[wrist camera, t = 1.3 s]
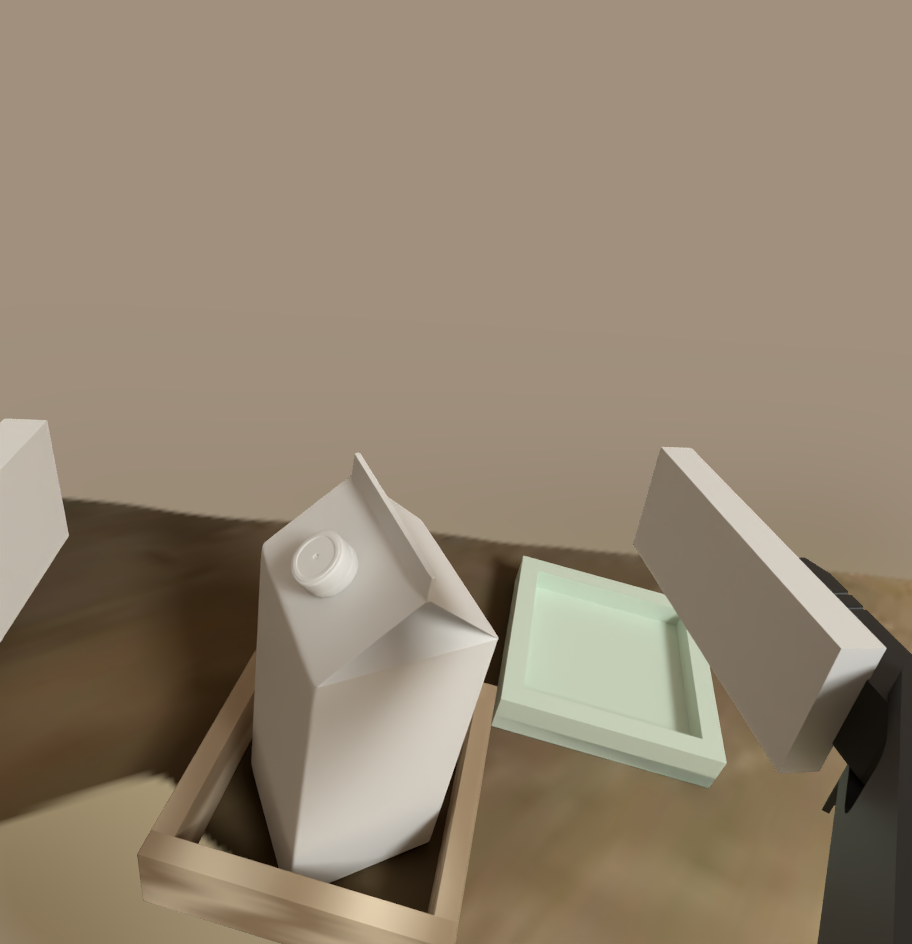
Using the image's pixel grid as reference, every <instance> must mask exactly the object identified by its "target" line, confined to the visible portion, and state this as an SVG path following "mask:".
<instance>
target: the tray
mask: <svg viewBox="0 0 912 944" xmlns="http://www.w3.org/2000/svg"><path fill="white" fill-rule="evenodd" d="M491 726H494V727H498V728H501V729H505V730H508V731H512V732H515V733H518V734H522V735H525V736H529V737H532V738H536V739H539V740H543V741H546V742H550V743H553V744H557V745H560V746H564V747H567V748H570V749H574V750H577V751H581V752H584V753H588V754H591V755H595V756H598V757H602V758H605V759H609V760H612V761H616V762H619V763H622V764H626V765H629V766H633V767H636V768H640V769H643V770H647V771H650V772H654V773H657V774H661V775H664V776H668V777H671V778H675V779H678V780H681V781H685V782H688V783H692V784H695V785H699V786H702V787H706V788H709V787H710V786H711V784H712V783H713V782H714V780H715V779H716V777H717V776H718V775H719V773H720V772H721V770H722V769H723V768H724V766H725V765H726V764H727V763H726V757H725V752H724V746H723V740H722V735H721V729H720V723H719V718H718V712H717V706H716V701H715V695H714V689H713V684H712V678H711V672H710V667H709V663H708V662H707V660H706V659H705V657H704V655H703V654H702V652H701V651H700V649H699V648H698V646H697V644H696V643H695V641H694V640H693V638H692V637H691V635H690V633H689V632H688V630H687V629H686V627H685V626H684V624H683V622H682V621H681V619H680V618H679V616H678V614H677V613H676V611H675V610H674V608H673V607H672V605H671V603H670V602H669V600H668V599H667V597H666V596H665V595H664V594H660V593H657V592H653V591H650V590H646V589H642V588H639V587H635V586H631V585H628V584H624V583H621V582H617V581H613V580H610V579H606V578H602V577H599V576H595V575H592V574H588V573H584V572H581V571H577V570H573V569H570V568H566V567H563V566H559V565H555V564H552V563H548V562H544V561H541V560H537V559H534V558H530V557H526V556H523V558H522V561H521V564H520V567H519V570H518V573H517V576H516V579H515V583H514V589H513V596H512V602H511V608H510V614H509V620H508V626H507V632H506V638H505V644H504V650H503V657H502V663H501V669H500V675H499V681H498V687H497V693H496V699H495V705H494V711H493V718H492V724H491Z"/></svg>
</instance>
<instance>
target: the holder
mask: <svg viewBox="0 0 912 944" xmlns="http://www.w3.org/2000/svg"><path fill="white" fill-rule="evenodd" d="M256 650H257V648H256ZM256 650H255V652H254V654H253V655H252V657H251V659H250V660H249V662H248V664H247V666H246V667H245V669H244V671H243V673H242V674H241V676H240V678H239V679H238V681H237V683H236V685H235V686H234V688H233V690H232V691H231V693H230V695H229V697H228V698H227V700H226V702H225V704H224V705H223V707H222V709H221V710H220V712H219V714H218V716H217V717H216V719H215V721H214V723H213V724H212V726H211V728H210V729H209V731H208V733H207V735H206V736H205V738H204V740H203V742H202V743H201V745H200V747H199V748H198V750H197V752H196V754H195V755H194V757H193V759H192V760H191V762H190V764H189V766H188V767H187V769H186V771H185V773H184V774H183V776H182V778H181V779H180V781H179V783H178V785H177V786H176V788H175V790H174V792H173V793H172V795H171V797H170V798H169V800H168V802H167V804H166V806H165V807H164V809H163V811H162V812H161V814H160V816H159V817H158V819H157V821H156V823H155V824H154V826H153V828H152V830H151V831H150V833H149V835H148V837H147V838H146V840H145V842H144V843H143V845H142V847H141V848H140V850H139V852H138V854H137V857H138V863H139V872H140V879H141V887H142V894H143V901H145V902H148V903H151V904H155V905H158V906H161V907H164V908H168V909H171V910H174V911H178V912H181V913H184V914H187V915H190V916H194V917H197V918H200V919H203V920H207V921H210V922H213V923H216V924H220V925H223V926H226V927H229V928H233V929H236V930H239V931H242V932H245V933H249V934H252V935H255V936H258V937H262V938H265V939H268V940H271V941H275V942H278V943H281V944H455V942H456V936H457V929H458V923H459V917H460V911H461V905H462V899H463V893H464V887H465V881H466V875H467V869H468V863H469V856H470V850H471V844H472V838H473V832H474V826H475V820H476V814H477V808H478V802H479V796H480V789H481V783H482V777H483V771H484V765H485V759H486V753H487V747H488V741H489V735H490V729H491V722H492V716H493V710H494V704H495V698H496V692H497V686H494V685H490V684H487V683H483V685H482V688H481V691H480V694H479V697H478V700H477V703H476V706H475V709H474V712H473V714H472V717H471V720H470V723H469V726H468V729H467V732H466V735H465V738H464V741H463V744H462V747H461V750H460V753H459V758H458V763H457V768H456V773H455V778H454V783H453V788H452V793H451V797H450V802H449V807H448V812H447V817H446V822H445V827H444V832H443V837H442V842H441V847H440V852H439V857H438V862H437V867H436V871H435V876H434V881H433V886H432V891H431V896H430V901H429V906H428V911H427V913H424V912H421V911H418V910H414V909H411V908H408V907H404V906H401V905H398V904H394V903H391V902H388V901H385V900H381V899H378V898H375V897H371V896H368V895H365V894H361V893H358V892H355V891H352V890H348V889H345V888H342V887H338V886H335V885H332V884H328V883H325V882H322V881H319V880H315V879H312V878H309V877H305V876H302V875H299V874H295V873H292V872H289V871H286V870H282V869H279V868H276V867H272V866H269V865H266V864H262V863H259V862H256V861H253V860H249V859H246V858H243V857H239V856H236V855H233V854H229V853H226V852H223V851H220V850H216V849H213V848H210V847H206V846H203V845H200V844H198V843H199V841H200V839H201V837H202V835H203V833H204V831H205V829H206V827H207V825H208V823H209V821H210V819H211V817H212V815H213V814H214V812H215V810H216V808H217V806H218V804H219V802H220V800H221V798H222V796H223V794H224V792H225V790H226V788H227V786H228V784H229V782H230V780H231V778H232V776H233V774H234V772H235V770H236V768H237V766H238V765H239V763H240V761H241V759H242V757H243V755H244V753H245V751H246V749H247V747H248V745H249V743H250V741H251V739H252V735H253V713H254V692H255V671H256Z"/></svg>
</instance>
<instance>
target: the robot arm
mask: <svg viewBox="0 0 912 944" xmlns="http://www.w3.org/2000/svg"><path fill="white" fill-rule="evenodd" d="M68 536H69V534H68V528H67V523H66V518H65V513H64V507H63V502H62V497H61V491H60V486H59V481H58V476H57V470H56V465H55V460H54V455H53V449H52V444H51V439H50V433H49V429H48V423H47V420H25V419H24V420H23V419H4V420H3V421H2V422H1V423H0V642H1V640H2V639H3V637H4V636H5V634H6V633H7V631H8V629H9V628H10V626H11V625H12V623H13V622H14V620H15V619H16V617H17V615H18V614H19V612H20V611H21V609H22V608H23V606H24V605H25V603H26V601H27V600H28V598H29V597H30V595H31V594H32V592H33V591H34V589H35V587H36V586H37V584H38V583H39V581H40V580H41V578H42V577H43V575H44V573H45V572H46V570H47V569H48V567H49V566H50V564H51V563H52V561H53V560H54V558H55V556H56V555H57V553H58V552H59V550H60V549H61V547H62V546H63V544H64V542H65V541H66V539H67V538H68ZM633 545H634V547H635V548H636V550H637V551H638V553H639V555H640V556H641V558H642V559H643V561H644V562H645V564H646V566H647V567H648V569H649V570H650V572H651V574H652V575H653V577H654V578H655V580H656V581H657V583H658V585H659V586H660V588H661V589H662V591H663V592H664V594H665V596H666V597H667V599H668V600H669V602H670V603H671V605H672V607H673V608H674V610H675V611H676V613H677V614H678V616H679V618H680V619H681V621H682V622H683V624H684V626H685V627H686V629H687V630H688V632H689V633H690V635H691V637H692V638H693V640H694V641H695V643H696V644H697V646H698V648H699V649H700V651H701V652H702V654H703V655H704V657H705V659H706V660H707V662H708V663H709V665H710V666H711V668H712V670H713V671H714V673H715V674H716V676H717V678H718V679H719V681H720V682H721V684H722V685H723V687H724V689H725V690H726V692H727V693H728V695H729V696H730V698H731V700H732V701H733V703H734V704H735V706H736V707H737V709H738V711H739V712H740V714H741V715H742V717H743V718H744V720H745V722H746V723H747V725H748V726H749V728H750V730H751V731H752V733H753V734H754V736H755V737H756V739H757V741H758V742H759V744H760V745H761V747H762V748H763V750H764V752H765V753H766V755H767V756H768V758H769V759H770V761H771V763H772V764H773V766H774V767H775V769H776V770H777V772H778V773H795V772H815V771H820V769H821V767H822V765H823V763H824V762H825V760H826V758H827V756H828V754H829V753H830V751H831V749H832V747H833V745H834V747H835V748H836V749H837V751H838V752H839V753H840V755H841V756H842V757H843V759H844V760H845V761H846V763H847V766H846V768H845V770H844V771H843V773H842V775H841V777H840V778H839V780H838V782H837V784H836V785H835V787H834V789H833V791H832V792H831V794H830V796H829V797H828V799H827V801H826V803H825V805H824V807H823V809H822V810H823V811H825V812H827V813H830V811H831V809H832V808H833V806H834V805H836V807H835V814H834V822H833V830H832V837H831V845H830V853H829V860H828V868H827V875H826V883H825V891H824V898H823V906H822V914H821V921H820V929H819V937H818V944H912V654H911V653H910V652H909V651H908V650H907V649H906V648H905V647H904V646H903V645H902V644H901V643H900V642H898V641H897V640H896V639H895V638H894V637H893V636H892V635H891V634H890V633H889V632H888V631H887V630H886V629H885V628H884V627H883V626H882V625H881V624H880V623H879V622H878V621H877V620H876V619H875V618H874V617H873V616H872V615H871V614H870V613H869V612H868V611H867V610H863V606H862V605H861V604H860V603H859V602H858V601H857V600H856V599H855V598H854V597H853V596H852V595H848V591H847V590H846V589H845V588H844V587H843V586H842V585H841V584H840V583H839V582H838V581H837V580H836V579H835V578H834V577H833V576H832V575H831V574H830V573H828V572H827V571H825V570H823V569H822V568H820V567H818V566H817V565H816V564H814V563H812V562H811V561H809V560H808V559H806V558H798V557H797V556H796V555H795V554H794V553H793V552H792V551H791V550H790V549H789V548H788V547H787V546H786V545H785V543H783V542H782V540H780V538H779V537H778V536H777V535H776V534H775V533H774V532H773V531H772V530H771V529H770V528H769V527H768V526H767V525H766V524H765V523H764V522H763V521H762V520H761V519H760V518H759V517H758V516H757V515H756V514H755V513H754V512H753V511H752V510H751V509H750V508H749V507H748V506H747V505H746V504H745V503H744V502H743V500H742V499H741V498H740V497H739V496H738V495H737V494H736V493H735V492H734V491H733V490H732V489H731V488H730V487H729V486H728V485H727V484H726V483H725V482H724V481H723V480H722V479H721V478H720V477H719V476H718V475H717V474H716V473H715V472H714V471H713V470H712V469H711V468H710V467H709V466H708V465H707V464H706V463H705V462H704V461H703V460H702V459H701V457H700V456H698V454H697V453H696V452H695V451H694V450H693V449H692V448H676V447H661V449H660V452H659V456H658V460H657V463H656V466H655V470H654V473H653V477H652V481H651V484H650V487H649V491H648V495H647V498H646V501H645V505H644V508H643V512H642V515H641V519H640V522H639V526H638V529H637V533H636V537H635V540H634V543H633Z"/></svg>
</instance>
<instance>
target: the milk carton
mask: <svg viewBox="0 0 912 944" xmlns="http://www.w3.org/2000/svg"><path fill="white" fill-rule="evenodd" d="M498 639H499V638H498V636H497V635H496V633H495V631H494V630H493V628H492V627H491V625H490V624H489V622H488V621H487V619H486V617H485V616H484V614H483V613H482V611H481V610H480V608H479V607H478V605H477V604H476V602H475V601H474V599H473V598H472V596H471V595H470V593H469V592H468V590H467V589H466V587H465V586H464V584H463V582H462V581H461V579H460V578H459V576H458V575H457V573H456V572H455V570H454V569H453V567H452V566H451V564H450V563H449V561H448V560H447V558H446V557H445V555H444V554H443V552H442V551H441V549H440V547H439V546H438V544H437V543H436V541H435V540H434V538H433V537H432V535H431V534H430V532H429V531H428V529H427V528H426V526H425V525H424V523H423V522H422V521H421V520H420V519H419V518H418V517H416V516H415V515H413V514H411V513H410V512H409V511H408V510H406V509H405V508H403V507H402V506H400V505H399V504H397V503H396V502H395V501H393V500H391V499H390V498H389V497H387V495H386V494H385V492H384V491H383V489H382V487H381V486H380V484H379V483H378V481H377V480H376V478H375V476H374V475H373V473H372V472H371V470H370V468H369V467H368V465H367V464H366V462H365V460H364V459H363V457H362V456H361V454H360V453H355V456H354V463H353V471H352V475H351V476H350V477H348V478H347V479H346V480H344V481H343V482H342V483H341V484H339V485H338V486H337V487H336V488H334V489H333V490H331V491H330V492H329V493H328V494H326V495H325V496H324V497H322V498H321V499H320V500H319V501H317V502H316V503H315V504H314V505H312V506H311V507H310V508H309V509H307V510H306V511H305V512H303V513H302V514H301V515H299V516H298V517H297V518H295V519H294V520H293V521H292V522H290V523H289V524H288V525H286V526H285V527H284V528H283V529H281V530H280V531H279V532H277V533H276V534H275V535H274V536H272V537H271V538H270V539H269V540H267V541H266V542H265V543H264V544H263V547H262V553H261V566H260V586H259V607H258V629H257V650H256V671H255V692H254V713H253V735H252V756H251V765H252V770H253V774H254V778H255V782H256V785H257V789H258V793H259V797H260V800H261V804H262V808H263V812H264V815H265V819H266V823H267V827H268V830H269V834H270V838H271V842H272V845H273V849H274V853H275V856H276V860H277V864H278V868H279V869H282V870H286V871H289V872H292V873H295V874H299V875H302V876H305V877H309V878H312V879H315V880H319V881H322V882H325V883H330V882H333V881H335V880H338V879H340V878H343V877H345V876H347V875H350V874H352V873H355V872H357V871H360V870H362V869H364V868H367V867H369V866H372V865H374V864H376V863H379V862H381V861H384V860H386V859H389V858H391V857H393V856H396V855H398V854H401V853H403V852H406V851H408V850H410V849H413V848H415V847H418V846H420V845H422V844H425V843H427V842H429V841H430V839H431V836H432V833H433V830H434V827H435V824H436V821H437V818H438V815H439V812H440V809H441V806H442V803H443V800H444V797H445V794H446V791H447V788H448V785H449V782H450V780H451V777H452V774H453V771H454V768H455V765H456V762H457V759H458V756H459V753H460V750H461V747H462V744H463V741H464V738H465V735H466V732H467V729H468V726H469V723H470V720H471V717H472V714H473V712H474V709H475V706H476V703H477V700H478V697H479V694H480V691H481V688H482V685H483V682H484V679H485V676H486V673H487V670H488V667H489V664H490V661H491V658H492V655H493V652H494V649H495V646H496V643H497V641H498Z"/></svg>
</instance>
